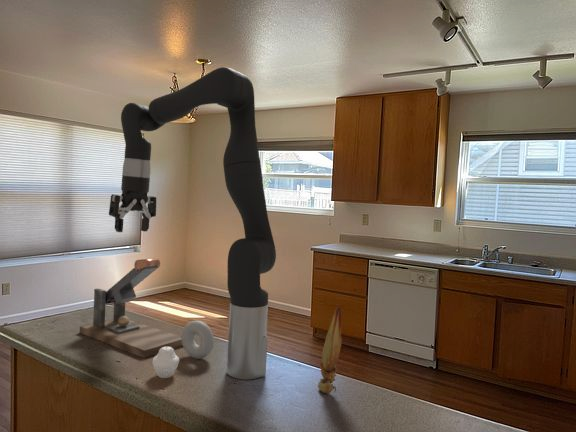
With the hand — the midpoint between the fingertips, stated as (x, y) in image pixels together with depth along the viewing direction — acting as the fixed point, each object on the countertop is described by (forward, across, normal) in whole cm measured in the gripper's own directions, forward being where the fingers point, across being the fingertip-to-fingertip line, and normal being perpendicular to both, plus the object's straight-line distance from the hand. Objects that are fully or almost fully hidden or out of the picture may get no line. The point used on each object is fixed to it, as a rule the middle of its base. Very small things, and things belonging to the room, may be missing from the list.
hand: (132, 231), depth 129 cm
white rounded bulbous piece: (+30, -11, -30) cm, 44 cm away
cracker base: (+31, 0, -3) cm, 31 cm away
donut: (+30, +2, -28) cm, 41 cm away
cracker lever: (+18, 0, -2) cm, 18 cm away
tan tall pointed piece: (+28, +6, -64) cm, 71 cm away
